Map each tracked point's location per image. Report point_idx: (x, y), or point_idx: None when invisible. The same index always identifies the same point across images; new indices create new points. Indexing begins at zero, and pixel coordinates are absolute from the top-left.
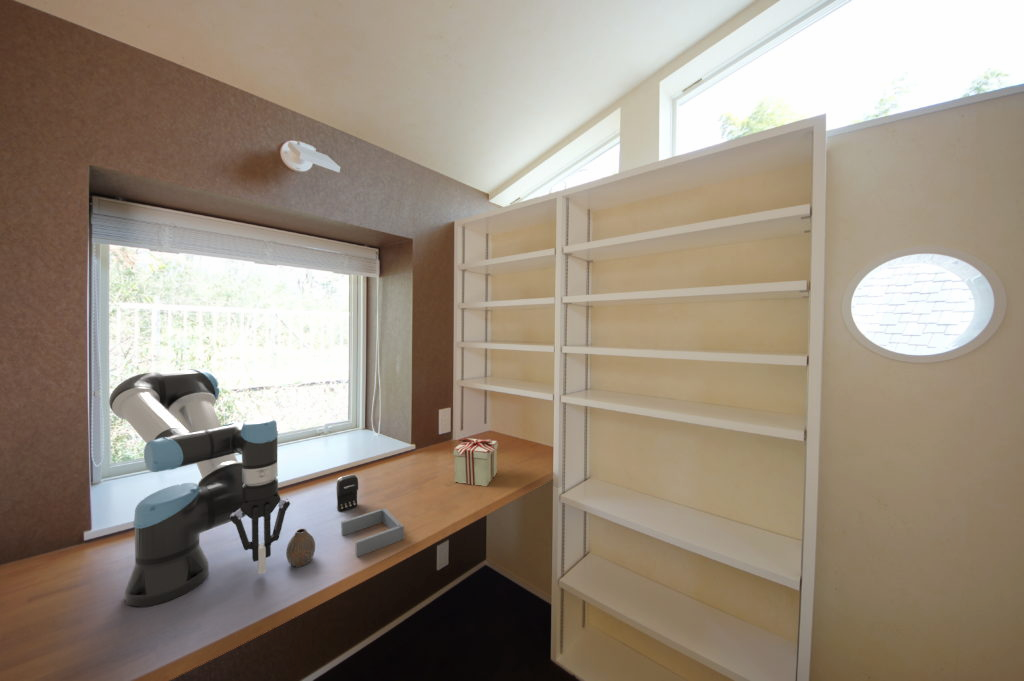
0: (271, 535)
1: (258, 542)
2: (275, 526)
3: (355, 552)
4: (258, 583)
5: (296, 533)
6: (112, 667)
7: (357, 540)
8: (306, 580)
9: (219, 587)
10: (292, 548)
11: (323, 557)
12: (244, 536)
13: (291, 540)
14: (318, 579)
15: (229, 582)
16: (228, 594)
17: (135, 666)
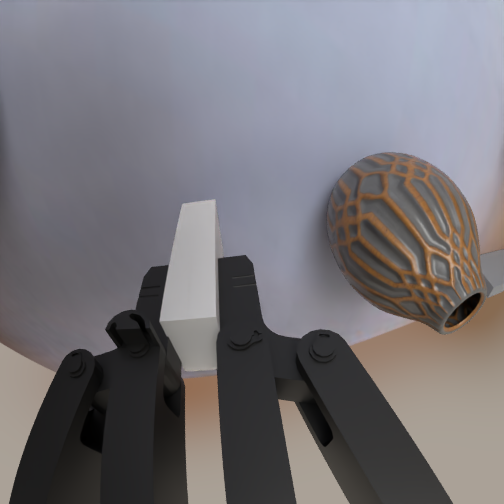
0: (289, 383)
1: (184, 418)
2: (342, 466)
3: None
4: None
5: (436, 328)
6: (19, 350)
7: (496, 286)
8: (340, 308)
9: (55, 208)
10: (368, 301)
11: None
12: (96, 485)
13: (395, 290)
14: (364, 315)
15: (78, 190)
16: (103, 267)
17: (49, 365)
